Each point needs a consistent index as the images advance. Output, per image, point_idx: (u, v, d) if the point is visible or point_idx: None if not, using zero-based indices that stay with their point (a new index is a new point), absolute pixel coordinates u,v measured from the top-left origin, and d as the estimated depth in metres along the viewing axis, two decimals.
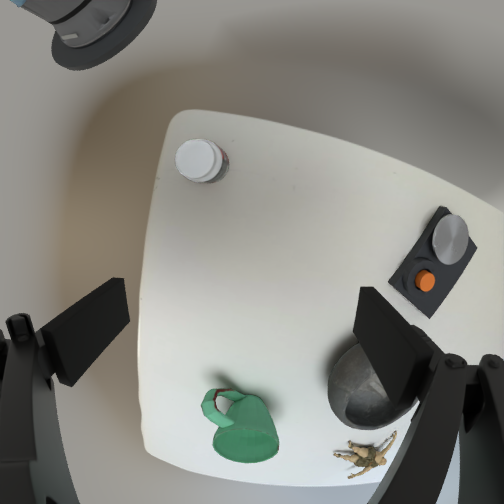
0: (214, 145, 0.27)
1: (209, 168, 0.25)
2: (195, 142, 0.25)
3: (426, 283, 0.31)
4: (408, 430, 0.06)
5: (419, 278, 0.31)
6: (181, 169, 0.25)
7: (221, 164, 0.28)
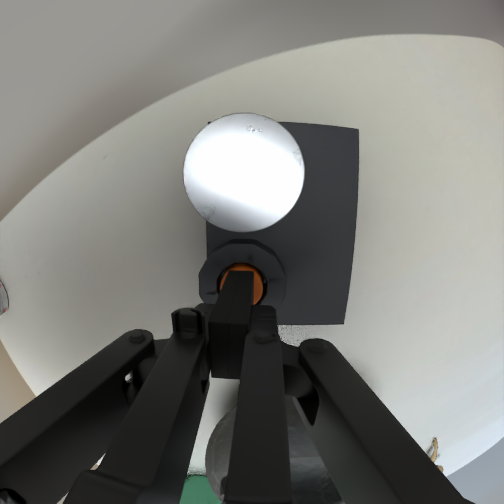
0: None
1: None
2: None
3: None
4: None
5: None
6: None
7: None
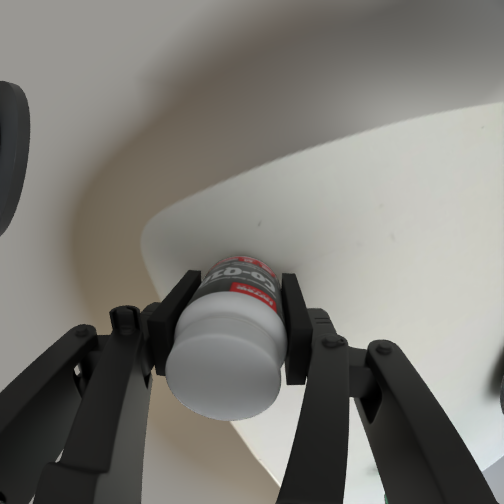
0: (240, 303, 0.10)
1: (277, 385, 0.08)
2: (193, 349, 0.08)
3: None
4: None
5: None
6: (211, 413, 0.09)
7: (284, 328, 0.11)
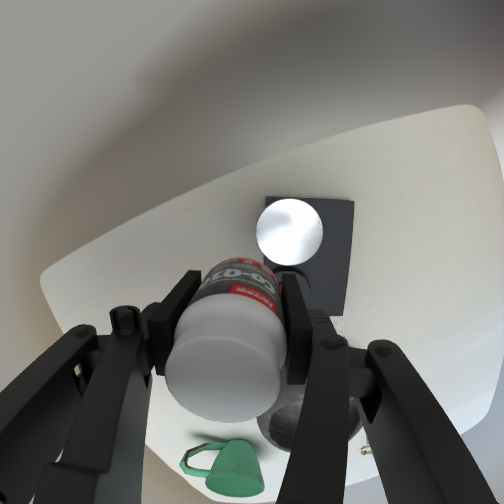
0: (239, 305, 0.10)
1: (276, 388, 0.08)
2: (193, 352, 0.08)
3: None
4: None
5: None
6: (210, 415, 0.09)
7: (284, 330, 0.10)
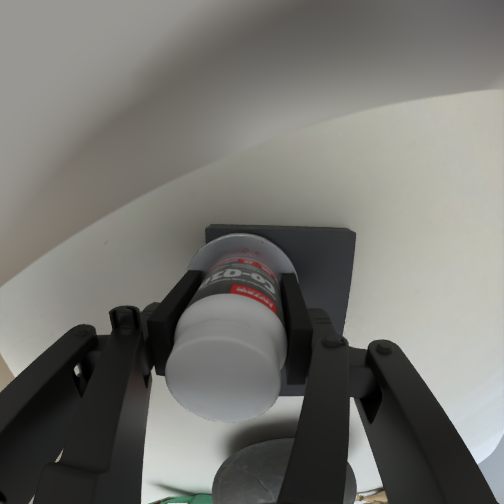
0: (240, 305, 0.10)
1: (277, 388, 0.08)
2: (193, 352, 0.08)
3: None
4: None
5: None
6: (211, 415, 0.09)
7: (284, 330, 0.10)
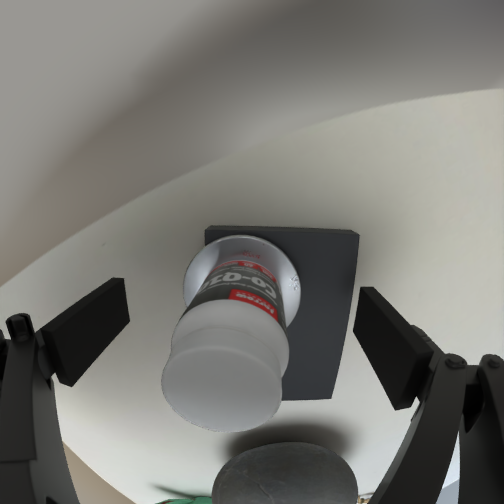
0: (239, 312, 0.09)
1: (277, 398, 0.08)
2: (190, 361, 0.08)
3: None
4: (408, 430, 0.06)
5: None
6: (209, 425, 0.08)
7: (285, 337, 0.10)
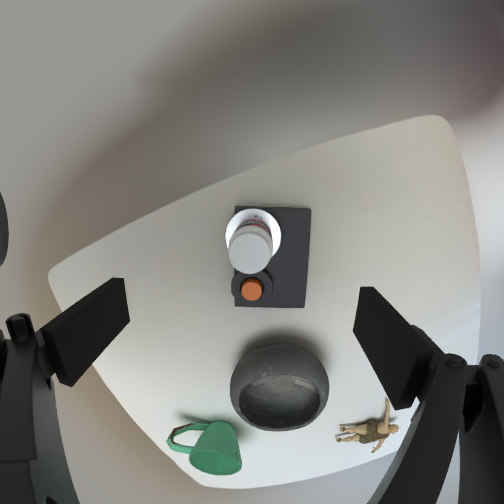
0: (255, 228, 0.28)
1: (268, 254, 0.26)
2: (240, 239, 0.26)
3: (250, 293, 0.35)
4: (408, 430, 0.06)
5: (242, 292, 0.36)
6: (244, 269, 0.27)
7: (271, 240, 0.28)
